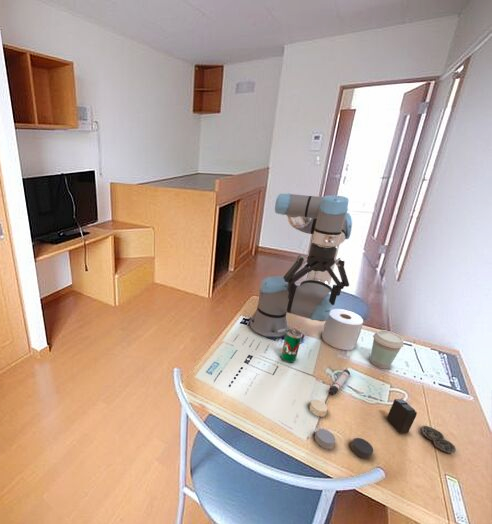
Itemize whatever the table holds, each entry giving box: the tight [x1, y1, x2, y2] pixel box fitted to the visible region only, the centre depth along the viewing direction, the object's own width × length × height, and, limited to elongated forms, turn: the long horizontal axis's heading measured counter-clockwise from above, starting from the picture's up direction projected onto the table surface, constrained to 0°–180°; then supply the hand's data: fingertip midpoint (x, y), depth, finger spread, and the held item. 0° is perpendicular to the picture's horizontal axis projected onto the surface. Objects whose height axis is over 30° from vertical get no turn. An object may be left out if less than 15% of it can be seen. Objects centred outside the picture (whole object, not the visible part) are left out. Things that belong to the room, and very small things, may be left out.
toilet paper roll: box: [321, 308, 364, 351], centre depth 121 cm, size 12×12×12 cm
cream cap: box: [309, 399, 329, 418], centre depth 91 cm, size 4×4×2 cm
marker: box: [329, 369, 351, 396], centre depth 101 cm, size 15×2×2 cm, turn 131°
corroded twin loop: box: [421, 425, 456, 454], centre depth 82 cm, size 5×8×1 cm, turn 3°
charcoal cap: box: [350, 437, 374, 460], centre depth 79 cm, size 4×4×2 cm
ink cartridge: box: [386, 398, 418, 434], centre depth 85 cm, size 5×2×8 cm, turn 2°
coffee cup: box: [369, 329, 404, 370], centre depth 109 cm, size 8×8×12 cm
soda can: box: [280, 328, 303, 364], centre depth 111 cm, size 5×5×12 cm
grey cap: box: [314, 428, 336, 450], centre depth 82 cm, size 4×4×2 cm
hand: (310, 301), depth 107 cm, fingers open, 13 cm apart
